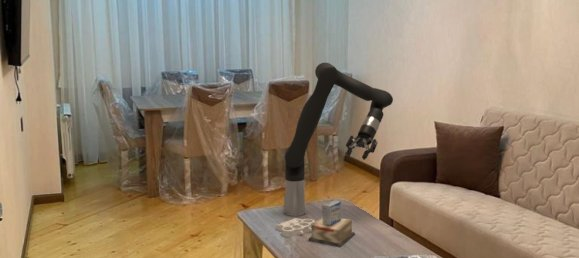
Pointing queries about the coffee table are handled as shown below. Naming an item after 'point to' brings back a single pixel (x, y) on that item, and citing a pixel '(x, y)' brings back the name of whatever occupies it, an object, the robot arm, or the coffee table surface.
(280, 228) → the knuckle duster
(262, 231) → the coffee table surface
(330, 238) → the stand
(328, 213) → the medicine box
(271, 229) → the coffee table surface
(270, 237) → the coffee table surface
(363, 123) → the robot arm
